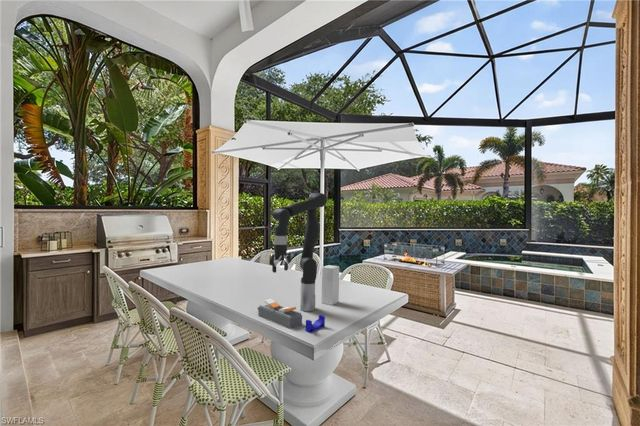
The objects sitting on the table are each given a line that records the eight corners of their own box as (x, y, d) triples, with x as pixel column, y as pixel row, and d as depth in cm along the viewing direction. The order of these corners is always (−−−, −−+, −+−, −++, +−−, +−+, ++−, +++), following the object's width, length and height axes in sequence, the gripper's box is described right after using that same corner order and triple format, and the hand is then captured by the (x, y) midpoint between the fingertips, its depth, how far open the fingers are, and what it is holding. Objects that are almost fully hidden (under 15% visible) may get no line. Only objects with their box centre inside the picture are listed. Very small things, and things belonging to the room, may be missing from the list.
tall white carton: (321, 302, 209) (322, 266, 209) (328, 299, 216) (328, 264, 216) (332, 305, 204) (333, 268, 204) (338, 302, 212) (339, 266, 211)
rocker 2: (279, 311, 172) (278, 309, 172) (285, 309, 176) (285, 307, 176) (289, 311, 166) (289, 308, 166) (296, 308, 170) (296, 306, 170)
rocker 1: (264, 301, 181) (264, 300, 181) (270, 300, 185) (271, 298, 185) (273, 309, 175) (273, 307, 175) (280, 307, 179) (280, 305, 179)
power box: (252, 313, 186) (252, 303, 186) (264, 309, 192) (264, 300, 192) (290, 328, 163) (290, 317, 163) (302, 324, 170) (302, 313, 170)
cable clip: (318, 324, 170) (318, 314, 170) (324, 326, 167) (324, 316, 167) (303, 330, 161) (303, 319, 161) (309, 333, 158) (309, 321, 158)
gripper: (285, 241, 183) (285, 268, 183) (266, 243, 172) (266, 272, 173) (294, 243, 178) (293, 270, 178) (275, 244, 167) (274, 274, 168)
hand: (280, 271), depth 175 cm, fingers open, 8 cm apart
